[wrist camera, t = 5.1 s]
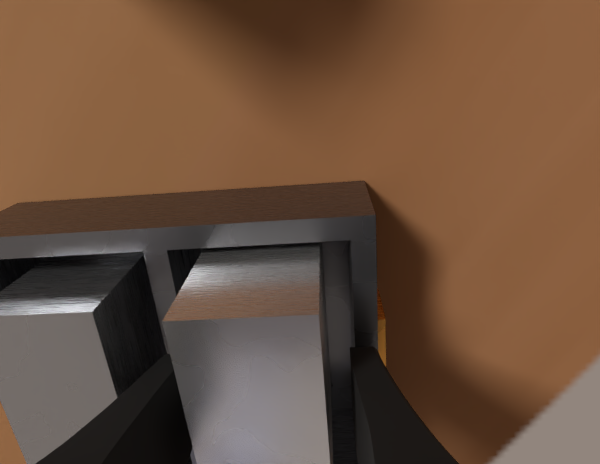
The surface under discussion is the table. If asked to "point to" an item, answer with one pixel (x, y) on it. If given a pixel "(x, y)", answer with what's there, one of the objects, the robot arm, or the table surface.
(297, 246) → the grey block
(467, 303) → the table surface
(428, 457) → the robot arm
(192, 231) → the rack
